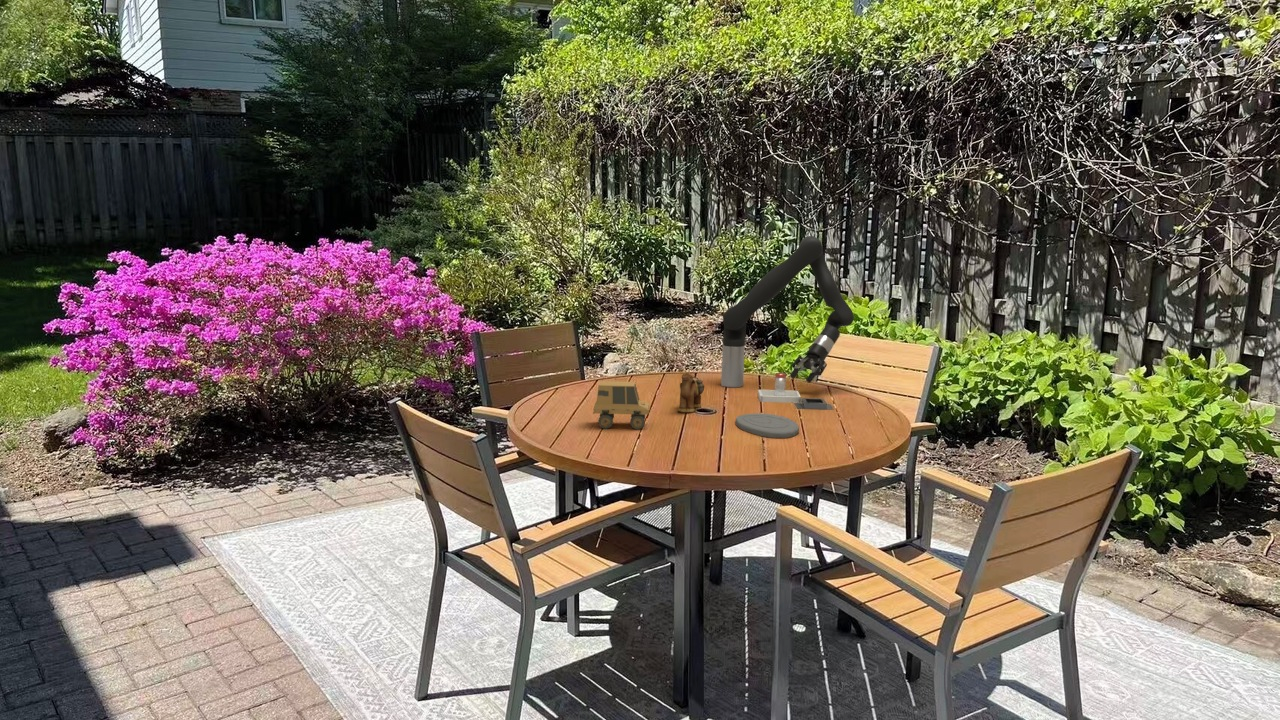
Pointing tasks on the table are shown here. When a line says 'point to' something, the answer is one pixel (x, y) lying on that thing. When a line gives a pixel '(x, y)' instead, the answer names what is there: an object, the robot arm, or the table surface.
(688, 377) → the figurine
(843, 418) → the table surface
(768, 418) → the frisbee
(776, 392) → the pin
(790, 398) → the tray
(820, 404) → the hitch
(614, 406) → the toy car
